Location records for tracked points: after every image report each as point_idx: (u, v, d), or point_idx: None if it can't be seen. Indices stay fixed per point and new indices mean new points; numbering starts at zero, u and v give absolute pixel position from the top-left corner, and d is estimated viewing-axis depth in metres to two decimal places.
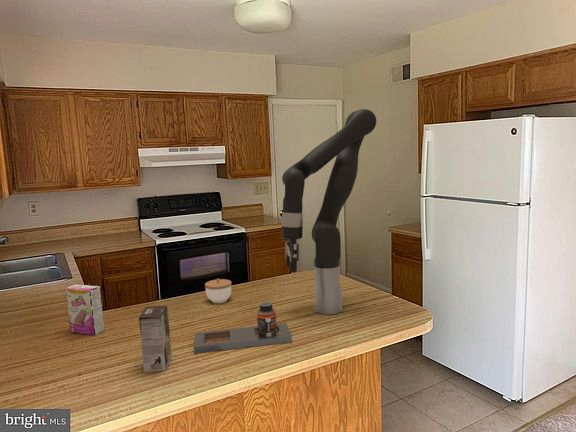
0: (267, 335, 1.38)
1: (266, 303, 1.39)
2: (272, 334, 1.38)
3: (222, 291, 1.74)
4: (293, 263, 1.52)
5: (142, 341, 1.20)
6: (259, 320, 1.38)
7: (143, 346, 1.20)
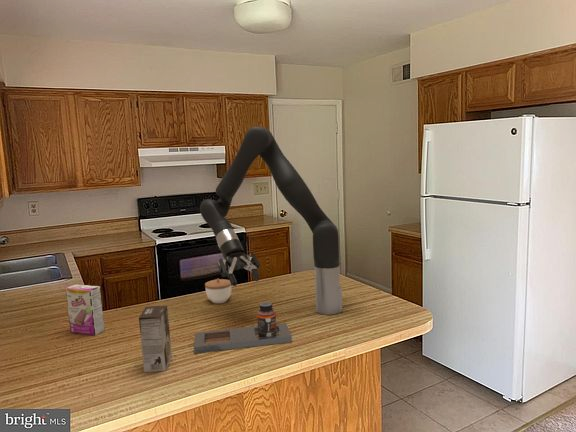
0: (267, 335, 1.38)
1: (266, 303, 1.39)
2: (272, 334, 1.38)
3: (222, 291, 1.74)
4: (229, 277, 1.47)
5: (142, 341, 1.20)
6: (259, 320, 1.38)
7: (143, 346, 1.20)
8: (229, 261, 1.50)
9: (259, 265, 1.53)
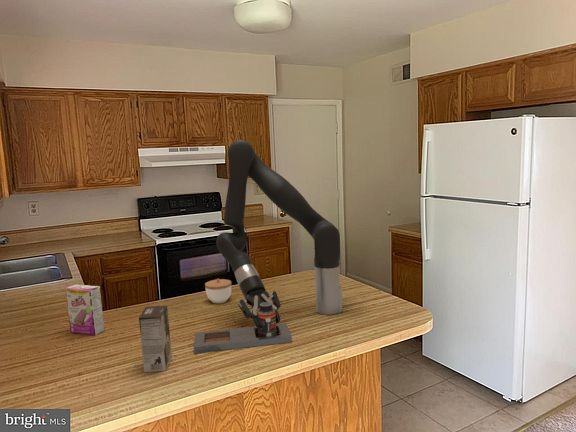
0: (267, 335, 1.38)
1: (266, 303, 1.39)
2: (272, 334, 1.38)
3: (222, 291, 1.74)
4: (253, 319, 1.38)
5: (142, 341, 1.20)
6: None
7: (143, 346, 1.20)
8: (250, 300, 1.41)
9: (279, 305, 1.44)
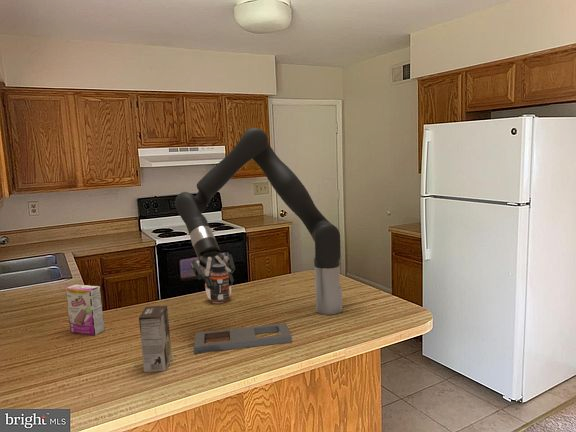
0: (219, 297, 1.34)
1: (219, 265, 1.36)
2: (223, 296, 1.34)
3: None
4: (205, 280, 1.34)
5: (142, 341, 1.20)
6: None
7: (143, 346, 1.20)
8: (203, 261, 1.37)
9: (234, 268, 1.40)
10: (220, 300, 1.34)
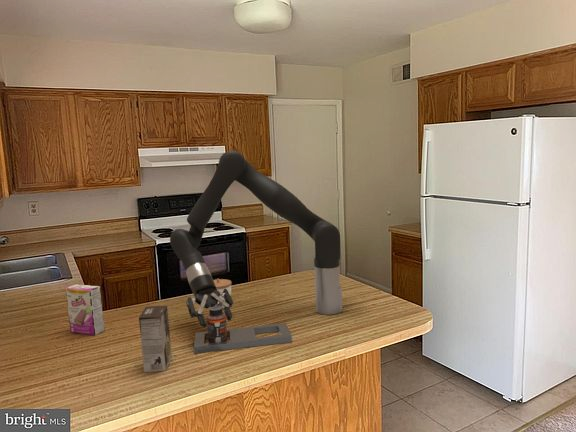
0: (216, 340, 1.36)
1: (216, 308, 1.37)
2: (221, 338, 1.36)
3: None
4: (198, 318, 1.35)
5: (142, 341, 1.20)
6: (208, 324, 1.36)
7: (143, 346, 1.20)
8: (199, 299, 1.38)
9: (232, 302, 1.42)
10: None
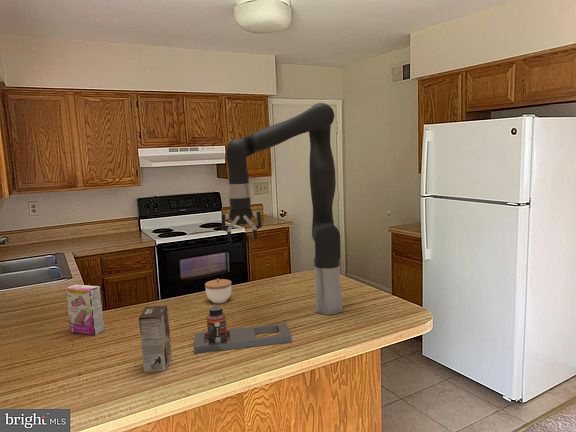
0: (216, 340, 1.36)
1: (216, 308, 1.37)
2: (221, 338, 1.36)
3: (222, 291, 1.74)
4: (227, 232, 1.57)
5: (142, 341, 1.20)
6: (208, 324, 1.36)
7: (143, 346, 1.20)
8: (231, 218, 1.55)
9: (260, 227, 1.57)
10: None
